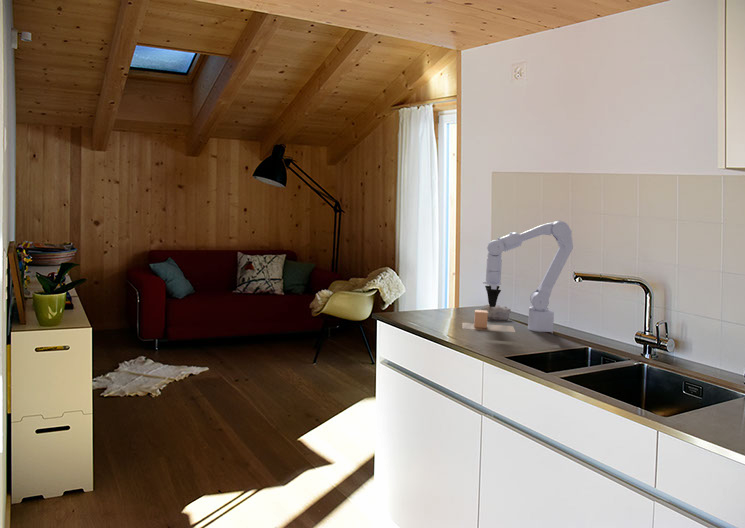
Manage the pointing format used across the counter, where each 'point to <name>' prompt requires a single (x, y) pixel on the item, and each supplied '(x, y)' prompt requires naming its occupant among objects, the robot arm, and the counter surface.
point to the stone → (497, 312)
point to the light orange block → (480, 318)
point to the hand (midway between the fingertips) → (491, 305)
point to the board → (489, 327)
